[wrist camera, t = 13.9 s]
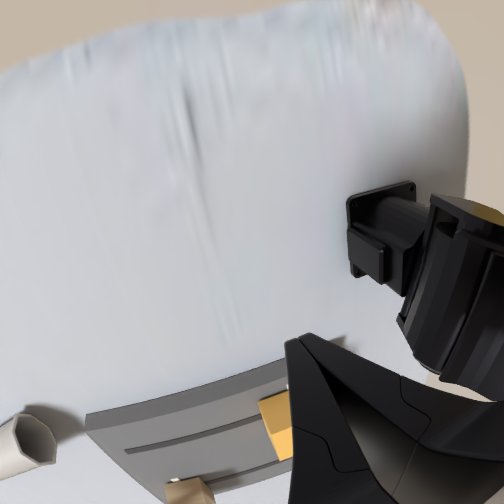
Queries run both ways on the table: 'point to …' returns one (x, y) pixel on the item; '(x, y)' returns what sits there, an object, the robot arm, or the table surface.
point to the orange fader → (278, 423)
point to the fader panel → (197, 434)
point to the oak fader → (189, 492)
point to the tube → (25, 445)
